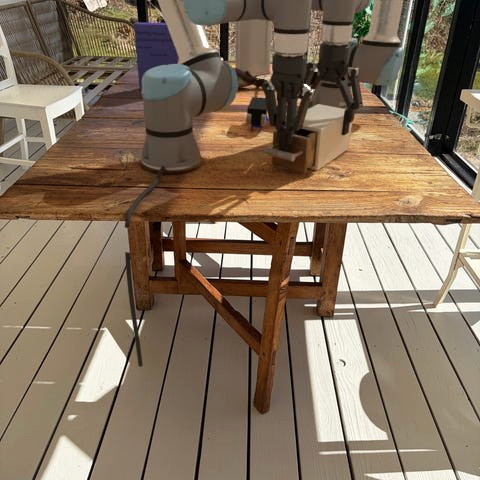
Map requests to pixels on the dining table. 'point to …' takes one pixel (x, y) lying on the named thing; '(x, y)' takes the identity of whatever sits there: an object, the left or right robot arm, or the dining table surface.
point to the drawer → (295, 151)
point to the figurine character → (257, 113)
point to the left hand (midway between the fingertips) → (283, 156)
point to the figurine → (248, 79)
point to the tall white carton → (253, 46)
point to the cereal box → (153, 47)
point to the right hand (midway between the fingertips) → (325, 129)
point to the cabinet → (327, 133)
